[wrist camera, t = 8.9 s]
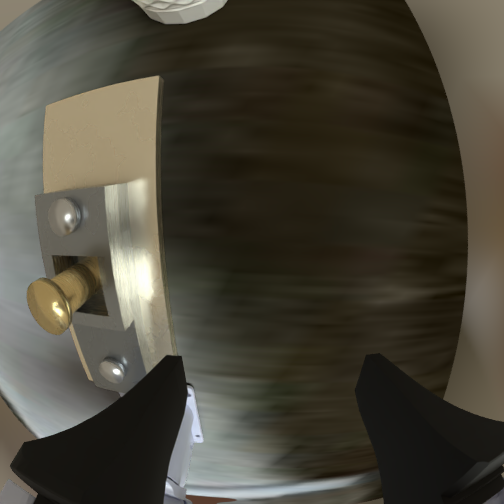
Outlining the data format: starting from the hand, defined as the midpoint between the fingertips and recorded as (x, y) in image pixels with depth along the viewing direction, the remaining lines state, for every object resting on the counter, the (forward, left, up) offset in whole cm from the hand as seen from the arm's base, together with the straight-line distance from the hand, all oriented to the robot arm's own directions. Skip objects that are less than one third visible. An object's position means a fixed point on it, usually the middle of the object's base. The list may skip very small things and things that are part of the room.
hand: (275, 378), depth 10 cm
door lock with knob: (+1, +12, -9) cm, 15 cm away
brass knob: (+1, +12, -8) cm, 15 cm away
